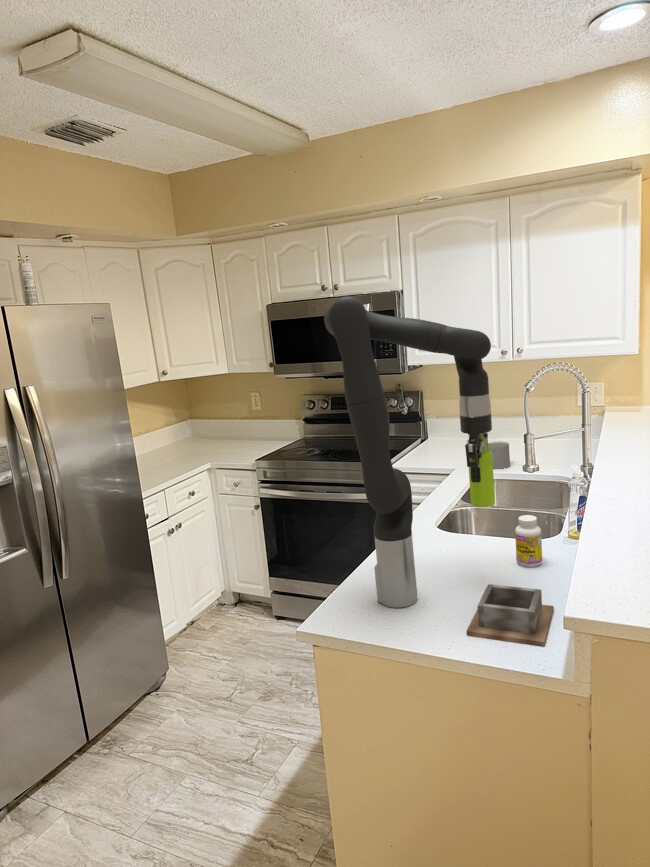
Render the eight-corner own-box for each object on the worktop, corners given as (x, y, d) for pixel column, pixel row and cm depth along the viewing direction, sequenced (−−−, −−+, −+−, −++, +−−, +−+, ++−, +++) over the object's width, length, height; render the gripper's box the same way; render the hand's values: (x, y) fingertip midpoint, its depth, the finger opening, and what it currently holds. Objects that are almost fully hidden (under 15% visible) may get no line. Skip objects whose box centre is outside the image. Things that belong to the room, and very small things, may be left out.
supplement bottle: (512, 565, 163) (510, 520, 160) (521, 556, 168) (519, 512, 166) (537, 569, 159) (535, 523, 156) (545, 560, 164) (544, 515, 161)
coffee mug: (510, 469, 255) (509, 446, 254) (486, 470, 258) (485, 447, 256) (508, 461, 268) (507, 439, 266) (485, 462, 271) (484, 440, 269)
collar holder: (466, 635, 131) (465, 609, 130) (483, 601, 145) (481, 578, 144) (544, 646, 124) (543, 619, 122) (553, 610, 137) (552, 585, 136)
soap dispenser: (473, 498, 157) (468, 423, 153) (498, 501, 152) (494, 423, 149) (463, 504, 152) (458, 427, 149) (488, 508, 148) (484, 428, 144)
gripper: (467, 407, 156) (470, 470, 159) (452, 418, 143) (456, 486, 147) (496, 407, 152) (499, 471, 156) (484, 417, 140) (488, 487, 143)
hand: (478, 478), depth 151 cm, fingers closed on soap dispenser, 6 cm apart
